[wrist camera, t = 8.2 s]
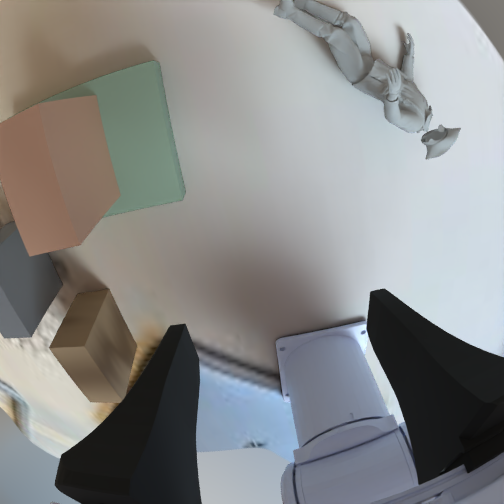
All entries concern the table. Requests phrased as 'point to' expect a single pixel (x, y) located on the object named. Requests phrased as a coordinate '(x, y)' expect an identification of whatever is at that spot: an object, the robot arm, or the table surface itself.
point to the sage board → (136, 135)
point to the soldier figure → (372, 71)
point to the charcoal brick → (23, 285)
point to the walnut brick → (96, 347)
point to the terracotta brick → (57, 172)
